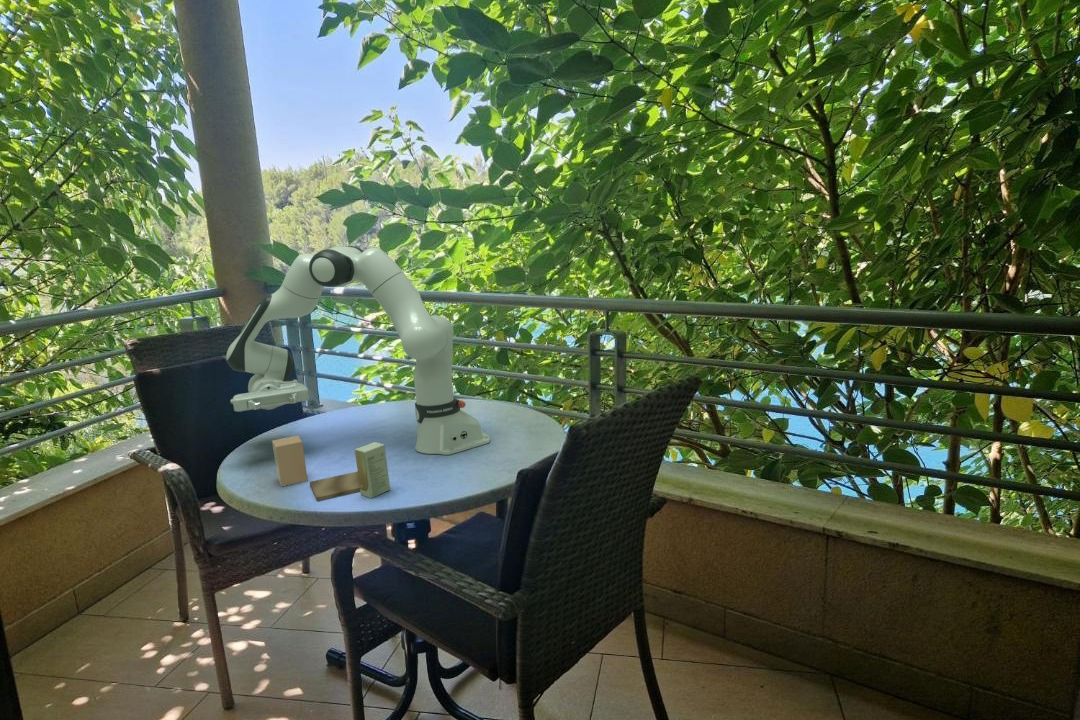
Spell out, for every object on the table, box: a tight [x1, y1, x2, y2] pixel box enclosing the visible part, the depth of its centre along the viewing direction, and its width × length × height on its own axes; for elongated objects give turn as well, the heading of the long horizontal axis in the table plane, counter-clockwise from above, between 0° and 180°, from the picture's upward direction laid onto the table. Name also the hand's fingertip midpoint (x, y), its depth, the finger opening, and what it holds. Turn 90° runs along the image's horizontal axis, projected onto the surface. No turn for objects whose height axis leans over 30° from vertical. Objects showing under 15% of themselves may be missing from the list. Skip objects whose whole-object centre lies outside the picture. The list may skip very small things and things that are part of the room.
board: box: [309, 470, 361, 502], centre depth 161 cm, size 13×12×1 cm
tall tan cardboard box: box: [271, 435, 308, 487], centre depth 167 cm, size 7×7×11 cm
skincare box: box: [354, 441, 391, 499], centre depth 155 cm, size 6×4×12 cm
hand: (275, 403), depth 174 cm, fingers open, 8 cm apart
